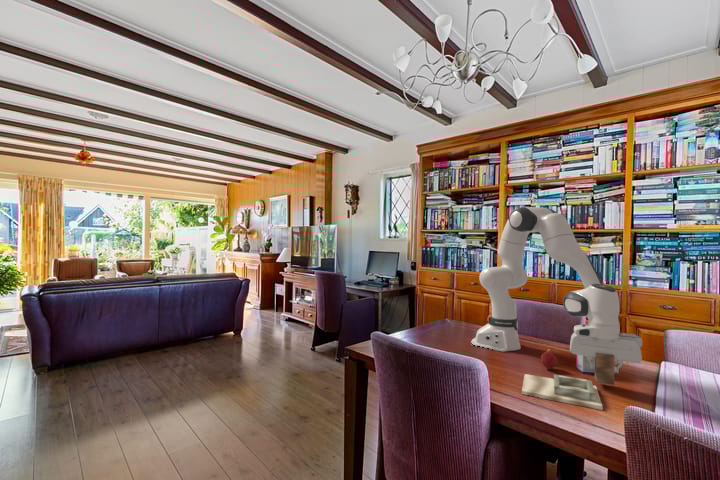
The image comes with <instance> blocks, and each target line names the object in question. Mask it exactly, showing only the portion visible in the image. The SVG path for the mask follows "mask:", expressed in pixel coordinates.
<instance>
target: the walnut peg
mask: <svg viewBox="0 0 720 480" xmlns="http://www.w3.org/2000/svg"><path fill="white" fill-rule="evenodd" d="M595 364H596V370H595V374H594V379H595V382H596V383H600V384H605V385H611V386H615V372H614V366H615V360H614V355H609V354H601V353H596V357H595Z"/></svg>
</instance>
